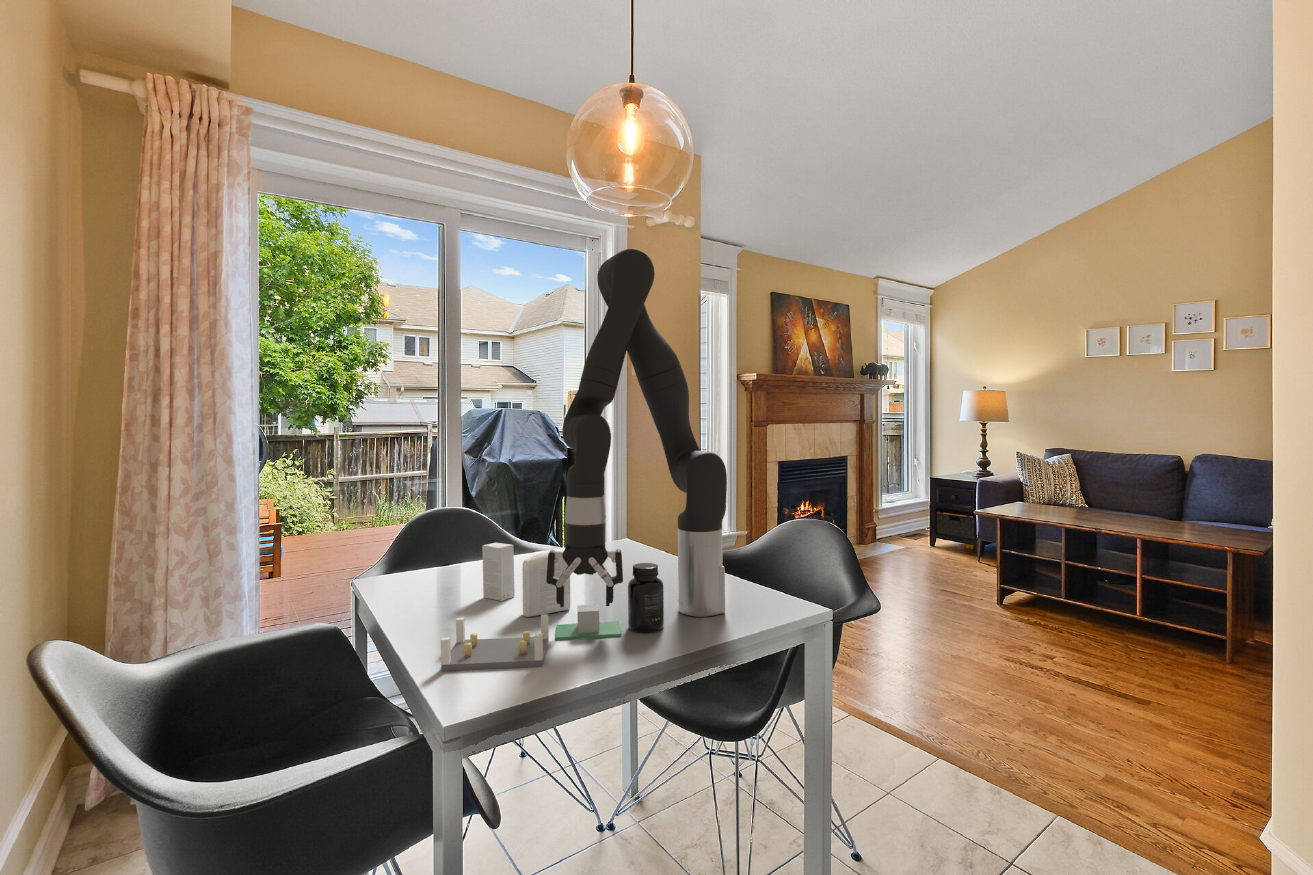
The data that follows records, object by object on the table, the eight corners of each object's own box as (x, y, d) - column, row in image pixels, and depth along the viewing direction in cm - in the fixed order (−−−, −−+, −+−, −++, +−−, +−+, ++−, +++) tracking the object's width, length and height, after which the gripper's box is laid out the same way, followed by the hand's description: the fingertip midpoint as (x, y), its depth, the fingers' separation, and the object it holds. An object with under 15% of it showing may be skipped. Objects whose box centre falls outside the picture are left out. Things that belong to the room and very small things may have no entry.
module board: (618, 626, 119) (618, 600, 119) (621, 638, 112) (621, 611, 112) (556, 629, 117) (556, 604, 117) (555, 642, 110) (555, 615, 110)
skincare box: (515, 596, 138) (514, 544, 138) (501, 601, 134) (500, 548, 134) (496, 592, 141) (495, 541, 141) (482, 597, 138) (481, 545, 137)
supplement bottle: (667, 622, 119) (666, 562, 119) (659, 635, 112) (658, 570, 112) (634, 620, 121) (633, 560, 120) (623, 632, 114) (622, 568, 114)
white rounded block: (565, 604, 131) (564, 548, 131) (573, 610, 128) (572, 551, 128) (519, 613, 126) (518, 554, 125) (527, 619, 122) (526, 558, 122)
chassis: (548, 641, 110) (548, 614, 109) (542, 666, 99) (541, 635, 98) (458, 645, 108) (457, 617, 108) (441, 670, 97) (440, 639, 97)
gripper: (623, 516, 118) (622, 599, 119) (549, 517, 117) (548, 600, 118) (623, 523, 111) (623, 611, 111) (545, 523, 110) (544, 612, 110)
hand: (584, 605), depth 114 cm, fingers open, 8 cm apart
